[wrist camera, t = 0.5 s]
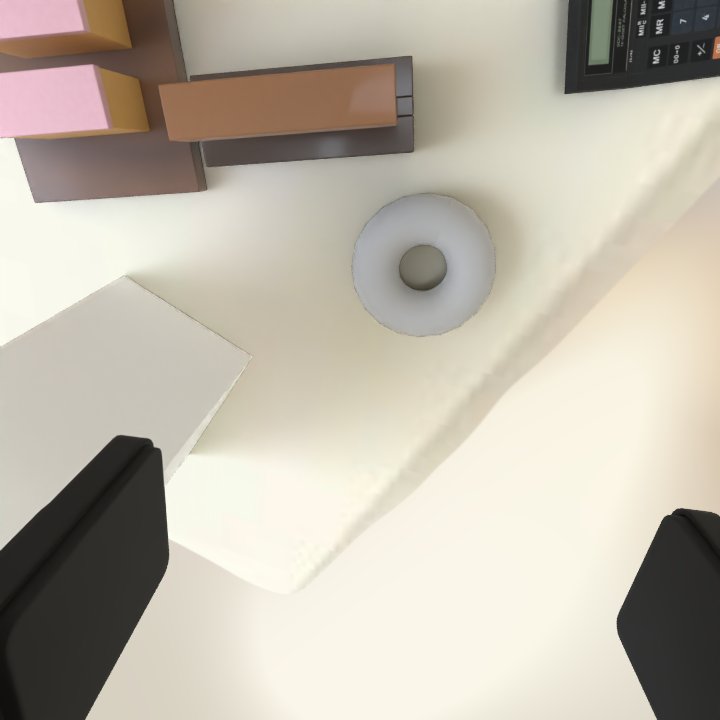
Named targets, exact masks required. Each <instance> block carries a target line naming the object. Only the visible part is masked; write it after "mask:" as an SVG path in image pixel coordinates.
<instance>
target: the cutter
mask: <svg viewBox="0 0 720 720" xmlns="http://www.w3.org/2000/svg"><path fill="white" fill-rule="evenodd" d="M158 87H159V92H160V97H161V102H162V107H163V112H164V117H165V121H166V126H167V131H168V136H169V140H170V141H179V142H198V141H211V140H224V139H236V138H249V137H262V136H275V135H288V134H301V133H313V132H326V131H339V130H352V129H365V128H378V127H390V126H397V101H396V71H395V64H394V63H393V64H382V65H371V66H360V67H349V68H337V69H326V70H315V71H304V72H293V73H282V74H270V75H259V76H248V77H237V78H226V79H215V80H203V81H192V82H181V83H170V84H160V85H158Z"/></svg>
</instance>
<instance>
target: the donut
mask: <svg viewBox="0 0 720 720" xmlns="http://www.w3.org/2000/svg"><path fill="white" fill-rule="evenodd" d="M417 245H431V246H433V247H435V248H437V249H439V250H440V251H441V253H442V254H443V255H444V257H445V259H446V262H447V272H446V275H445V277H444V279H443V280H442V282H441V283H440V284H438V285H437V286H436V287H434V288H432V289H430V290H425V291H419V290H413V289H412V288H410V287H408V286H407V285H406V284H405V283H404V282H403V281H402V279H401V276H400V272H399V266H400V261H401V259H402V257H403V255H404V254H405V253H406V252H407V251H408V250H409V249H411V248H413V247H415V246H417ZM352 272H353V279H354V285H355V290H356V292H357V294H358V296H359V298H360V300H361V302H362V304H363V306H364V308H365V309H366V310H367V311H368V312H369V313H370V314H371V315H372V316H373V317H374V318H375V319H376V320H377V321H378V322H379V323H380V324H382V325H384V326H385V327H387V328H389V329H391V330H393V331H395V332H397V333H400V334H405V335H411V336H416V337H424V336H433V335H441V334H443V333H446V332H448V331H450V330H453V329H455V328H457V327H460V326H461V325H462V324H464V323H465V322H466V321H467V320H469V319H470V318H471V317H472V316H473V315H475V314H476V313H477V312H478V310H479V309H480V307H481V306H482V304H483V303H484V301H485V300H486V298H487V297H488V295H489V294H490V291H491V287H492V284H493V280H494V277H495V274H496V262H495V247H494V244H493V242H492V239H491V237H490V234H489V231H488V229H487V226H486V225H485V224H484V223H483V222H482V221H481V219H480V218H479V217H478V216H477V215H476V213H475V212H474V211H473V210H472V209H471V208H469V207H467V206H466V205H464V204H462V203H460V202H459V201H457V200H455V199H454V198H452V197H447V196H442V195H436V194H431V193H424V194H417V195H410V196H404V197H402V198H400V199H398V200H396V201H394V202H392V203H390V204H388V205H386V206H384V207H382V208H381V209H380V210H379V211H378V212H377V213H376V214H375V215H374V216H373V217H372V218H371V219H370V220H369V221H368V222H367V223H366V225H365V227H364V229H363V230H362V232H361V234H360V236H359V238H358V240H357V242H356V244H355V249H354V255H353V261H352Z"/></svg>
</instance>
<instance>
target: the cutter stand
mask: <svg viewBox="0 0 720 720" xmlns="http://www.w3.org/2000/svg"><path fill="white" fill-rule="evenodd" d="M393 63H394V64H395V71H396V101H397V126H390V127H378V128H365V129H352V130H339V131H326V132H313V133H301V134H288V135H275V136H262V137H249V138H236V139H224V140H211V141H202V146H203V151H204V157H205V163H206V167H218V166H232V165H246V164H259V163H273V162H287V161H301V160H314V159H328V158H342V157H355V156H369V155H383V154H397V153H410V152H414V117H413V67H412V56H403V57H392V58H381V59H370V60H359V61H348V62H337V63H326V64H315V65H304V66H293V67H282V68H271V69H260V70H249V71H238V72H227V73H216V74H205V75H193V76H190V80H191V82H192V81H203V80H215V79H226V78H237V77H248V76H259V75H270V74H282V73H293V72H304V71H315V70H326V69H337V68H349V67H360V66H371V65H382V64H393Z"/></svg>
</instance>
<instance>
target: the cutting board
mask: <svg viewBox="0 0 720 720" xmlns="http://www.w3.org/2000/svg"><path fill="white" fill-rule="evenodd" d="M122 3H123V8H124V13H125V17H126V22H127V26H128V31H129V36H130V40H131V45H132V49H122V50H112V51H102V52H91V53H81V54H71V55H60V56H50V57H40V58H30V59H26V58H22V57H18V56H14V55H10V54H6V53H2V52H0V73H6V72H16V71H27V70H37V69H48V68H58V67H69V66H79V65H90V64H93V65H96V66H98V67H99V68H102V69H106V70H109V71H113V72H116V73H120V74H123V75H127V76H130V77H134V78H137V79H139V83H140V87H141V92H142V96H143V101H144V106H145V110H146V115H147V119H148V124H149V129H150V131H147V132H135V133H122V134H110V135H98V136H85V137H73V138H60V139H29V138H14V139H15V142H16V145H17V148H18V152H19V155H20V158H21V161H22V164H23V167H24V170H25V173H26V177H27V180H28V183H29V186H30V189H31V192H32V195H33V199H34V202H35V203H42V202H57V201H71V200H86V199H101V198H115V197H130V196H145V195H159V194H174V193H189V192H200V191H205V190H207V188H206V182H205V177H204V171H203V166H202V160H201V155H200V149H199V144H198V142H179V141H170V140H169V136H168V131H167V126H166V121H165V117H164V112H163V107H162V102H161V97H160V92H159V87H158V85H160V84H170V83H181V82H187V78H186V72H185V67H184V61H183V56H182V50H181V45H180V39H179V34H178V28H177V23H176V17H175V12H174V6H173V1H172V0H122Z"/></svg>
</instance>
